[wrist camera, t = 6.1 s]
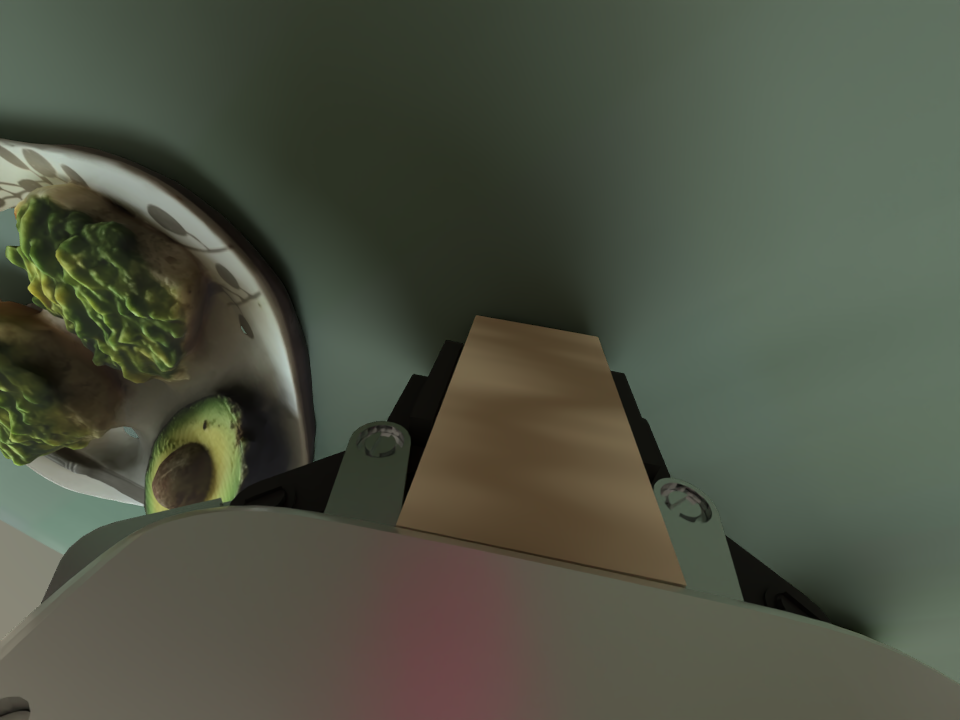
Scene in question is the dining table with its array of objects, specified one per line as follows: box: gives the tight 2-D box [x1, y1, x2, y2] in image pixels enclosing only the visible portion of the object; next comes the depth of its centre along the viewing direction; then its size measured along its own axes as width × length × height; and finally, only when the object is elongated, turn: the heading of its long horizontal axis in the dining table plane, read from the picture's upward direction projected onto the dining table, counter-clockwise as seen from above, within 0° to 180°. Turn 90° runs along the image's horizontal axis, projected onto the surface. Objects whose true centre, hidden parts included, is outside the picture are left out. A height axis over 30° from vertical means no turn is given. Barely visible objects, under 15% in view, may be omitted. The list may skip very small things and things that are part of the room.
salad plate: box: [0, 138, 316, 515], centre depth 14 cm, size 19×18×5 cm
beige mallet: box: [396, 315, 687, 588], centre depth 14 cm, size 4×23×8 cm, turn 172°
